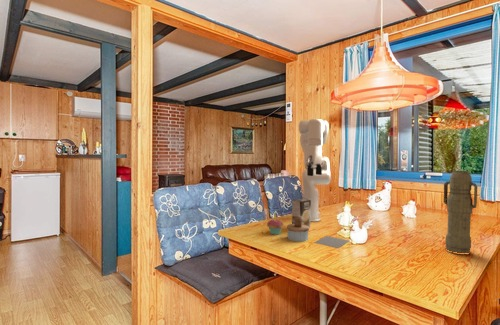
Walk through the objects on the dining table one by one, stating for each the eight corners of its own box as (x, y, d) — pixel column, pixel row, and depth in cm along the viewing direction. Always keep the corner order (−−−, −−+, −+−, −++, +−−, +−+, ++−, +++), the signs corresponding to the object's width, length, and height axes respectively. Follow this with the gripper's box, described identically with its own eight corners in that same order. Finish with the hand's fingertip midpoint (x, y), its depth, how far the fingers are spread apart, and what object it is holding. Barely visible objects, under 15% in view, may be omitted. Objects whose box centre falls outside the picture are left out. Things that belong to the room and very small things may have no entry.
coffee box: (301, 231, 155) (301, 201, 154) (291, 229, 159) (291, 200, 159) (310, 228, 161) (311, 199, 160) (301, 226, 166) (301, 198, 165)
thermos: (444, 246, 133) (447, 170, 131) (476, 252, 124) (479, 171, 123) (438, 250, 127) (441, 170, 125) (472, 257, 118) (475, 172, 117)
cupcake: (282, 236, 146) (282, 212, 145) (265, 235, 147) (265, 211, 147) (283, 231, 154) (284, 209, 154) (268, 230, 156) (268, 208, 155)
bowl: (294, 235, 148) (294, 225, 148) (311, 238, 142) (311, 228, 142) (284, 239, 140) (284, 229, 140) (301, 243, 134) (301, 232, 134)
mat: (326, 236, 146) (326, 235, 146) (349, 241, 138) (349, 240, 138) (313, 243, 135) (313, 242, 135) (338, 249, 127) (338, 248, 127)
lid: (293, 224, 148) (294, 212, 148) (312, 228, 142) (313, 216, 142) (282, 229, 140) (283, 216, 140) (302, 233, 134) (302, 219, 133)
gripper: (316, 143, 161) (315, 173, 162) (300, 142, 148) (300, 175, 149) (328, 143, 157) (328, 174, 157) (314, 142, 143) (313, 176, 144)
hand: (314, 175), depth 153 cm, fingers open, 9 cm apart
